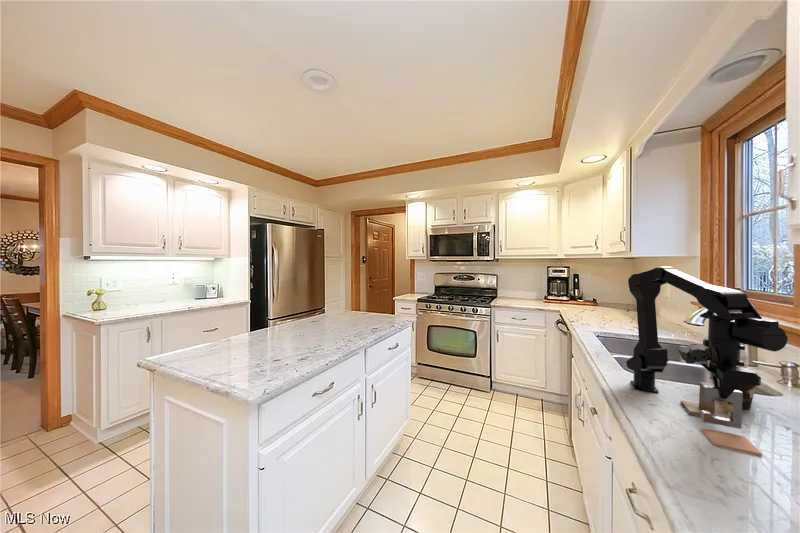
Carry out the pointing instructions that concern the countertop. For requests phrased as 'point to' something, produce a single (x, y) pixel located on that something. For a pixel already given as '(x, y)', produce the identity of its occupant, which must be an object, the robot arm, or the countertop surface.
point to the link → (734, 398)
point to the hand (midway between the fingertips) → (721, 396)
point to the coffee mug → (746, 395)
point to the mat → (731, 441)
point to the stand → (708, 406)
